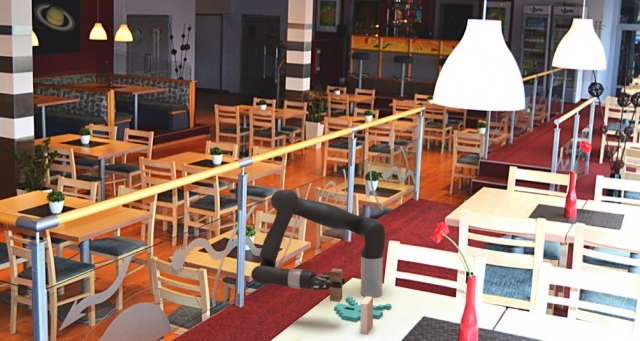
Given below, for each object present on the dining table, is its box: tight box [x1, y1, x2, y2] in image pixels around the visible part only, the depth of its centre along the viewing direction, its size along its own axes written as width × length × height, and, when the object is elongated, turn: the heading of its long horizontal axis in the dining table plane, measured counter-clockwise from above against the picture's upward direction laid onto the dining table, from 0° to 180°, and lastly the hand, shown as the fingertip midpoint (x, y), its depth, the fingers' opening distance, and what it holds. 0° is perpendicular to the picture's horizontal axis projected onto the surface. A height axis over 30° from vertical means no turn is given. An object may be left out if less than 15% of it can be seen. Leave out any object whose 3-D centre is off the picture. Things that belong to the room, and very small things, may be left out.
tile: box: [360, 296, 374, 335], centre depth 319 cm, size 8×3×12 cm, turn 163°
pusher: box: [329, 268, 344, 303], centre depth 321 cm, size 4×4×12 cm
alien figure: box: [333, 296, 392, 323], centre depth 337 cm, size 20×2×20 cm
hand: (343, 283), depth 320 cm, fingers closed on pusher, 4 cm apart
